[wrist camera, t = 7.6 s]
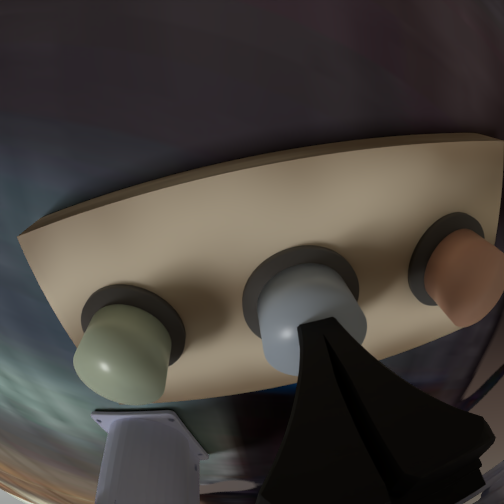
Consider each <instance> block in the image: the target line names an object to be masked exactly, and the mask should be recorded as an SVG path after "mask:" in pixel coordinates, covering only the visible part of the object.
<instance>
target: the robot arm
mask: <svg viewBox="0 0 504 504" xmlns="http://www.w3.org/2000/svg"><path fill="white" fill-rule="evenodd" d="M297 332H298V339H299V346H300V360H299V373H298V380H297V387H296V393H295V398H294V403H293V407H292V411H291V415H290V419H289V422H288V425H287V429H286V432H285V435H284V438H283V440H282V443H281V446H280V448H279V451H278V453H277V455H276V458H275V460H274V463H273V465H272V467H271V469H270V471H269V473H268V475H267V477H266V479H265V481H264V483H263V485H262V487H261V489H260V491H259V493H258V497H257V501H256V504H463V503H465V502H466V501H468V500H470V499H472V498H473V497H475V496H476V495H478V494H479V493H481V492H482V494H481V498H480V499H479V500H478V501H476V502H475V503H473V504H504V460H503V461H502V462H500V463H499V464H498V465H496V466H495V467H494V468H492V469H491V470H489V471H488V472H486V473H485V474H483V475H482V474H481V472H480V470H479V468H480V467H481V466H482V464H481V461H480V459H479V457H480V456H481V455H482V454H483V453H484V452H485V451H487V449H489V447H490V446H491V445H492V444H493V443H494V441H495V436H494V434H493V432H492V430H491V428H490V426H489V425H488V424H487V422H486V421H485V420H484V418H483V417H482V416H478V415H475V414H472V413H469V412H466V411H463V410H461V409H458V408H456V407H453V406H451V405H449V404H446V403H444V402H442V401H440V400H438V399H436V398H434V397H432V396H430V395H429V394H427V393H425V392H423V391H421V390H419V389H418V388H416V387H414V386H413V385H411V384H410V383H408V382H406V381H405V380H404V379H402V378H401V377H399V376H398V375H396V374H395V373H394V372H392V371H391V370H390V369H388V368H387V367H386V366H385V365H383V364H382V363H381V362H380V361H378V360H377V359H376V358H375V357H374V356H373V355H371V354H370V353H369V352H368V351H367V350H366V349H365V348H364V347H363V346H362V345H360V344H359V343H358V342H357V341H356V340H355V339H354V338H353V337H352V336H351V335H350V334H349V333H348V332H347V330H346V329H345V328H344V327H343V326H342V325H341V324H340V323H339V322H338V321H337V319H336V318H334V317H329V318H325V319H321V320H317V321H313V322H309V323H304V324H300V325H299V326H298V327H297ZM91 417H92V418H93V419H94V420H95V421H96V422H97V423H98V424H99V425H100V426H101V427H102V428H103V429H104V430H105V431H106V432H107V433H108V436H107V440H106V445H105V449H104V454H103V459H102V464H101V469H100V475H99V480H98V486H97V492H96V498H95V504H200V498H199V460H207V459H209V455H208V454H207V453H206V451H205V450H204V449H203V448H202V447H201V445H200V444H199V443H198V442H197V440H196V439H195V438H194V437H193V435H192V434H191V433H190V432H189V430H188V429H187V428H186V426H185V425H184V424H183V422H182V421H181V420H180V418H179V417H178V416H177V414H176V413H175V412H174V411H171V410H160V411H136V412H96V411H94V412H92V413H91Z"/></svg>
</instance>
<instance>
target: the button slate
mask: <svg viewBox="0 0 504 504" xmlns="http://www.w3.org/2000/svg"><path fill="white" fill-rule="evenodd" d="M257 313H258V319H259V326H260V332H261V338H262V344H263V351H264V355H265V358H266V360H267V361H268V363H269V364H270V365H271V366H272V367H273V368H275V369H276V370H278V371H280V372H282V373H284V374H288V375H293V376H298V373H299V360H300V346H299V339H298V332H297V327H298V326H299V325H300V324H304V323H309V322H313V321H317V320H321V319H325V318H329V317H334V318H336V319H337V321H338V322H339V323H340V324H341V325H342V326H343V327H344V328H345V329H346V330H347V332H348V333H349V334H350V335H351V336H352V337H353V338H354V339H355V340H356V341H357V342H358V343H359V344H360V345H362V343H363V341H364V339H365V336H366V332H367V321H366V317H365V315H364V313H363V311H362V310H361V308H360V306H359V305H358V303H357V301H356V300H355V298H354V296H353V295H352V293H351V291H350V290H349V288H348V286H347V285H346V283H345V282H344V280H343V279H342V277H341V276H340V275H339V274H338V273H337V272H336V271H335V270H334V269H332V268H330V267H328V266H325V265H322V264H316V263H304V264H298V265H295V266H291V267H289V268H286V269H284V270H282V271H280V272H279V273H277V274H276V275H275V276H273V277H272V278H271V279H270V280H269V281H268V282H267V283H266V284H265V286H264V287H263V289H262V291H261V292H260V295H259V297H258V301H257Z"/></svg>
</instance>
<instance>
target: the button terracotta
mask: <svg viewBox="0 0 504 504" xmlns="http://www.w3.org/2000/svg"><path fill="white" fill-rule="evenodd" d="M424 285H425V289H426V291H427V293H428V294H429V296H430V297H431V298H432V299H433V300H434V301H435V302H436V304H437V305H438V306H439V307H440V308H441V309H442V310H443V312H444V313H445V314H446V315H447V316H448V318H449V319H450V320H451V321H452V322H453V324H454V325H456V326H458V327H468V326H470V325H473V324H475V323H476V322H478V321H480V320H481V319H482V318H483V317H485V316H486V315H487V314H488V313H489V312H490V311H491V309H492V308H493V307H494V306H495V304H496V303H497V302H498V300H499V299H500V297H501V295H502V293H503V291H504V253H503V252H502V251H500V250H499V249H498V248H496V247H495V246H493V245H492V244H491V243H489V242H488V241H487V240H485V239H484V238H482V237H481V236H479V235H478V234H477V233H475V232H474V231H472V230H470V229H459V230H456V231H454V232H452V233H451V234H449V235H448V236H447V237H445V238H444V239H443V240H442V241H441V242H440V243H439V245H438V246H437V247H436V249H435V250H434V251H433V253H432V255H431V257H430V259H429V261H428V263H427V266H426V270H425V275H424Z"/></svg>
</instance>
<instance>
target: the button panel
mask: <svg viewBox="0 0 504 504" xmlns="http://www.w3.org/2000/svg"><path fill="white" fill-rule="evenodd" d="M503 157H504V141H503V140H499V139H496V138H492V137H489V136H485V135H481V134H477V133H440V134H419V135H404V136H391V137H380V138H370V139H361V140H352V141H344V142H336V143H328V144H321V145H314V146H308V147H302V148H295V149H289V150H284V151H278V152H272V153H267V154H262V155H257V156H252V157H247V158H242V159H237V160H232V161H228V162H223V163H219V164H214V165H210V166H206V167H202V168H197V169H193V170H189V171H185V172H182V173H178V174H174V175H170V176H166V177H163V178H159V179H155V180H152V181H148V182H145V183H141V184H138V185H135V186H131V187H128V188H125V189H122V190H118V191H115V192H112V193H109V194H106V195H103V196H100V197H97V198H94V199H91V200H88V201H85V202H82V203H79V204H76V205H74V206H71V207H68V208H65V209H63V210H60V211H57V212H55V213H52V214H49V215H47V216H44V217H42V218H40V219H39V220H38V221H36V222H35V223H34V224H32V225H31V226H30V227H29V228H27V229H26V230H25V231H24V232H22V233H21V234H20V235H19V236H17V238H18V241H19V243H20V245H21V248H22V250H23V252H24V254H25V256H26V259H27V261H28V263H29V265H30V267H31V269H32V271H33V273H34V275H35V277H36V279H37V281H38V283H39V285H40V287H41V289H42V291H43V292H44V294H45V296H46V298H47V300H48V302H49V303H50V305H51V307H52V309H53V310H54V312H55V314H56V315H57V317H58V319H59V320H60V322H61V324H62V325H63V327H64V329H65V330H66V332H67V333H68V335H69V336H70V338H71V339H72V341H73V342H74V344H75V345H76V347H77V348H78V346H79V344H80V342H81V340H82V338H83V335H84V333H85V331H86V329H87V327H88V325H89V323H90V321H91V319H92V317H93V315H94V314H95V313H96V312H97V311H98V310H99V309H101V308H103V307H105V306H108V305H114V304H123V305H130V306H134V307H137V308H140V309H142V310H144V311H146V312H148V313H150V314H151V315H153V316H154V317H155V318H157V319H158V320H159V321H160V322H161V323H162V324H163V325H164V327H165V328H166V329H167V331H168V333H169V335H170V338H171V344H172V346H171V353H170V359H169V365H168V372H167V378H166V385H165V391H164V393H163V395H162V396H161V397H160V398H159V399H158V400H156V401H155V402H152V403H162V402H175V401H186V400H196V399H204V398H213V397H220V396H227V395H234V394H240V393H247V392H253V391H258V390H264V389H269V388H274V387H279V386H284V385H289V384H293V383H297V380H298V376H293V375H288V374H284V373H282V372H280V371H278V370H276V369H275V368H273V367H272V366H271V365H270V364H269V363H268V361H267V360H266V358H265V355H264V351H263V344H262V338H261V332H260V326H259V319H258V313H257V301H258V297H259V295H260V292H261V291H262V289H263V287H264V286H265V284H266V283H267V282H268V281H269V280H270V279H271V278H272V277H273V276H275V275H276V274H277V273H279V272H280V271H282V270H284V269H286V268H289V267H291V266H295V265H298V264H304V263H316V264H322V265H325V266H328V267H330V268H332V269H334V270H335V271H336V272H337V273H338V274H339V275H340V276H341V277H342V279H343V280H344V282H345V283H346V285H347V286H348V288H349V290H350V291H351V293H352V295H353V296H354V298H355V300H356V301H357V303H358V305H359V306H360V308H361V310H362V311H363V313H364V315H365V317H366V321H367V332H366V336H365V339H364V341H363V343H362V346H363V347H364V348H365V349H366V350H367V351H368V352H369V353H370V354H371V355H373V356H374V357H375V358H376V359H377V360H381V359H384V358H387V357H390V356H393V355H396V354H399V353H401V352H404V351H407V350H410V349H412V348H415V347H418V346H420V345H423V344H425V343H428V342H431V341H433V340H435V339H438V338H440V337H443V336H445V335H447V334H450V333H452V332H454V331H457V330H459V329H461V328H463V327H458V326H456V325H454V324H453V322H452V321H451V320H450V319H449V318H448V316H447V315H446V314H445V313H444V312H443V310H442V309H441V308H440V307H439V306H438V305H437V304H436V302H435V301H434V300H433V299H432V298H431V297H430V296H429V294H428V293H427V291H426V289H425V285H424V275H425V270H426V266H427V263H428V261H429V259H430V257H431V255H432V253H433V251H434V250H435V249H436V247H437V246H438V245H439V243H440V242H441V241H442V240H443V239H444V238H445V237H447V236H448V235H449V234H451V233H452V232H454V231H456V230H459V229H470V230H472V231H474V232H475V233H477V234H478V235H479V236H481V237H482V238H484V239H485V240H487V241H488V242H489V243H491V244H492V245H493V246H494V244H495V238H496V232H497V226H498V219H499V211H500V202H501V192H502V179H503ZM119 404H122V403H119Z"/></svg>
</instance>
